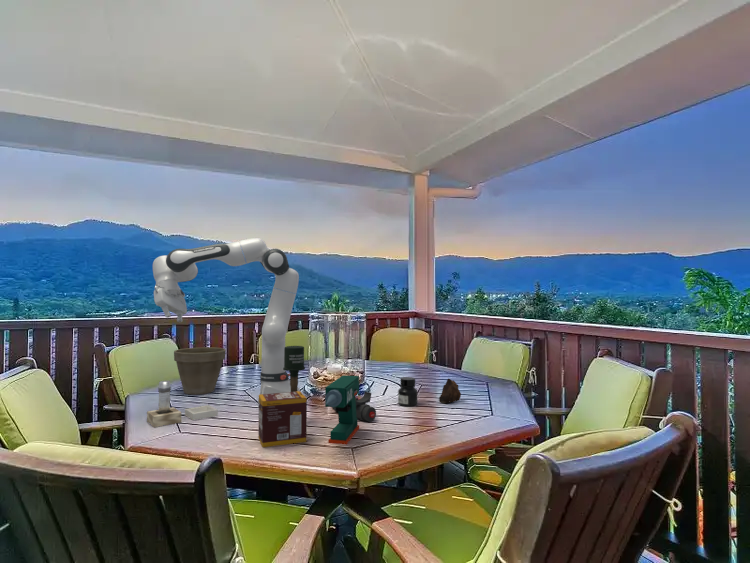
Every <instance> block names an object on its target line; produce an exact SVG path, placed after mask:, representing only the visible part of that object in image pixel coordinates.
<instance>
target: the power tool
mask: <svg viewBox="0 0 750 563" xmlns="http://www.w3.org/2000/svg"><path fill="white" fill-rule="evenodd" d="M324 388H325V389H324V390H325V396H324V402H325V404H324V406H325V407H326V408H327V407H328V408H332V407H336V411H335V412H337V415H338V416H337V417H338V422H337V424H336V426H334V427H333V428H332V430H331V431H330V438H329V439H328V441H327V443H328V444H333V445H334V444H335V445H348V444H349V442H350V441H351V440H352V438H353V437H354V435H356V433H357V432H358V431H359V429H360V425H359V424H358V421H359V419H358V418H357V416H356V399H355V398H356V397H357V396H358V395H359V394H360V375H348V374H347V375H345V374H343V375H341V376H340V377H337V379H336V380H334V381H333V382H331V383H330V384H328V385H326V386H325V387H324Z"/></svg>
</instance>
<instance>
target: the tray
mask: <svg viewBox="0 0 750 563" xmlns="http://www.w3.org/2000/svg"><path fill="white" fill-rule="evenodd" d="M184 416H186V417H187V418H188V419H190V420H191V421H199V420H203V419H208V418H209V419H210V418H215V417H218V416H219V410H218V408H216V407H214V406H212V405H209V404H206V405H202V406H195V407H189V408H185V409H184Z"/></svg>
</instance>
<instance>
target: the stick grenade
mask: <svg viewBox="0 0 750 563" xmlns="http://www.w3.org/2000/svg"><path fill="white" fill-rule="evenodd" d="M283 370H285V371H286V372H289V373H290V376H289V380H290V386H291V392H296V391H297V387H298V386H299V373H300V372H301V371H304V370H306V367H305V347H304V346H303V345H286V346H285V348H284V368H283ZM298 388H299V387H298Z"/></svg>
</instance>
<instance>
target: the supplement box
mask: <svg viewBox="0 0 750 563" xmlns="http://www.w3.org/2000/svg"><path fill="white" fill-rule="evenodd" d="M300 391H301V390H300ZM300 391H296V392H285V393H273V394H260V393H259V394H258V399H259V404H258V432H257V433H258V434H257V435H258V436H257V438H258V441H259V443H260V445H261V447H262V448H268V447H270V448H271V447H277V446H285V445H294V444H300V443H306V442H307V439H308V438H307V432H308V431H307V428H308V426H307V423H308V422H307V421H308V420H307V419H308V418H307V417H308V416H307V414H308V413H307V412H308V411H307V410H308V409H307V408H308V404H307V403H308V401H307V399H308V397H306V396H305V395H304V394H303V393H302V391H301V392H300ZM293 443H294V444H293Z"/></svg>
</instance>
